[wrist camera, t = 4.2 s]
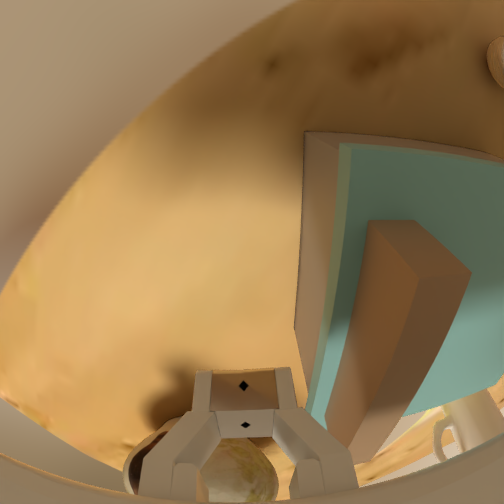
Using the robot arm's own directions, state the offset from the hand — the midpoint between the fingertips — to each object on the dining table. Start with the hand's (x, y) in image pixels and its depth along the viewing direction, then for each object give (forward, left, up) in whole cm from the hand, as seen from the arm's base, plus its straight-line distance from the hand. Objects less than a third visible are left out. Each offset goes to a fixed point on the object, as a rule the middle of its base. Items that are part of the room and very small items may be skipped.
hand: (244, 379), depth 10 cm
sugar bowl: (+5, +22, -10) cm, 25 cm away
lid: (-10, 0, -2) cm, 10 cm away
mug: (-25, +22, -10) cm, 35 cm away
